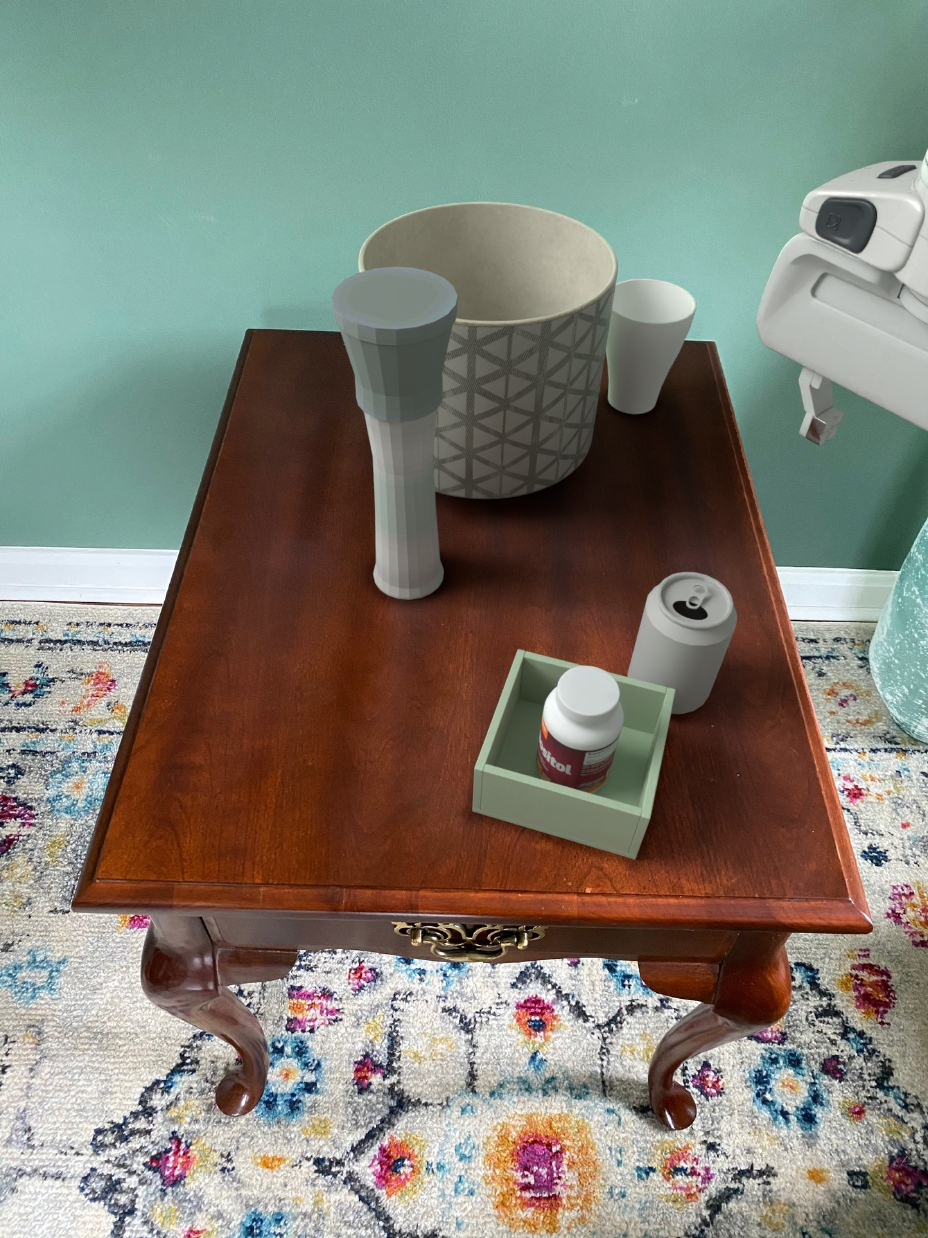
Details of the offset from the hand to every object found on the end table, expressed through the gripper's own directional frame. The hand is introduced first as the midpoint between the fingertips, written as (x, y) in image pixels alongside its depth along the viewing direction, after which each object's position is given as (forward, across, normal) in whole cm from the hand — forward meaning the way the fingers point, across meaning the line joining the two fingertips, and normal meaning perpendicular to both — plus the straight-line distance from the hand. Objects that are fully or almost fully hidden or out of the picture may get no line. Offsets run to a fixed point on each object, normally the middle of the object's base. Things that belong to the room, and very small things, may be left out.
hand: (883, 476), depth 50 cm
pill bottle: (+31, +9, +12) cm, 34 cm away
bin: (+31, +9, +12) cm, 35 cm away
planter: (+31, +46, -9) cm, 57 cm away
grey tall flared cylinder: (+31, +36, +9) cm, 48 cm away
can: (+31, +10, -1) cm, 33 cm away
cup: (+31, +43, -32) cm, 62 cm away
